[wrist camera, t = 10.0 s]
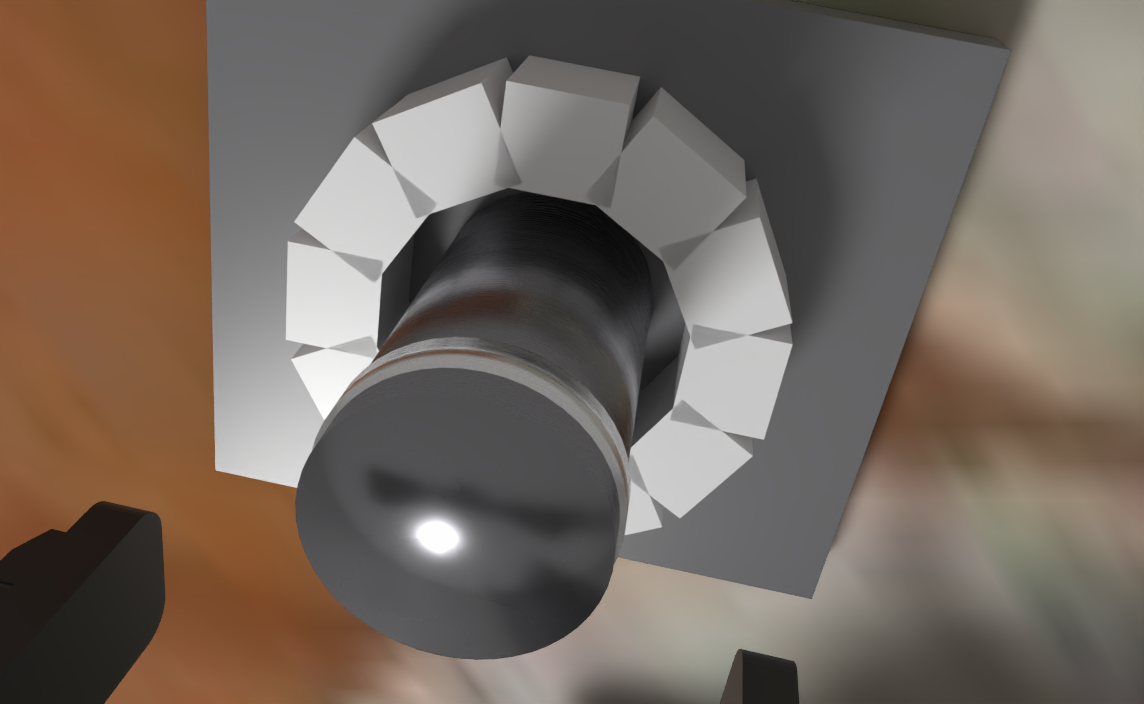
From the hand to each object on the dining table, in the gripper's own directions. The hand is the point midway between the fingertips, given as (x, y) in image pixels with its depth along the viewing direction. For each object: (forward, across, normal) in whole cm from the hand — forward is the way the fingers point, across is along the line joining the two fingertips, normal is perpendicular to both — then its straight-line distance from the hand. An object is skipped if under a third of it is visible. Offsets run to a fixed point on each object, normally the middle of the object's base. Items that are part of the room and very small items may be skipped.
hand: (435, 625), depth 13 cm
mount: (+12, 0, 0) cm, 12 cm away
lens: (+10, 0, 0) cm, 11 cm away
